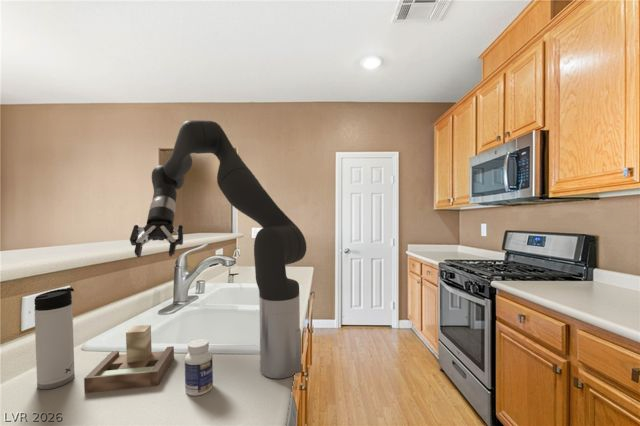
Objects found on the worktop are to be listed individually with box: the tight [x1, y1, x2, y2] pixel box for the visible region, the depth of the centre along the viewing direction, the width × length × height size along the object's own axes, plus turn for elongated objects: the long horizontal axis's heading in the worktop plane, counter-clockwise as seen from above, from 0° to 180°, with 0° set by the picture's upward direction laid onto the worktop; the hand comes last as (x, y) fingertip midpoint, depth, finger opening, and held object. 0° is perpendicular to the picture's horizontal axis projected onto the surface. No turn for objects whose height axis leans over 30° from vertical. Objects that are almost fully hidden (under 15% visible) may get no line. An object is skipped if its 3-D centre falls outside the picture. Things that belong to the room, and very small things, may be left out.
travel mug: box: [34, 286, 76, 390], centre depth 68 cm, size 6×7×20 cm
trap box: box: [83, 345, 175, 394], centre depth 71 cm, size 14×12×3 cm
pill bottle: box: [184, 338, 214, 397], centre depth 65 cm, size 5×5×10 cm
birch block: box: [125, 324, 153, 363], centre depth 75 cm, size 4×4×7 cm
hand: (154, 255), depth 92 cm, fingers open, 8 cm apart
